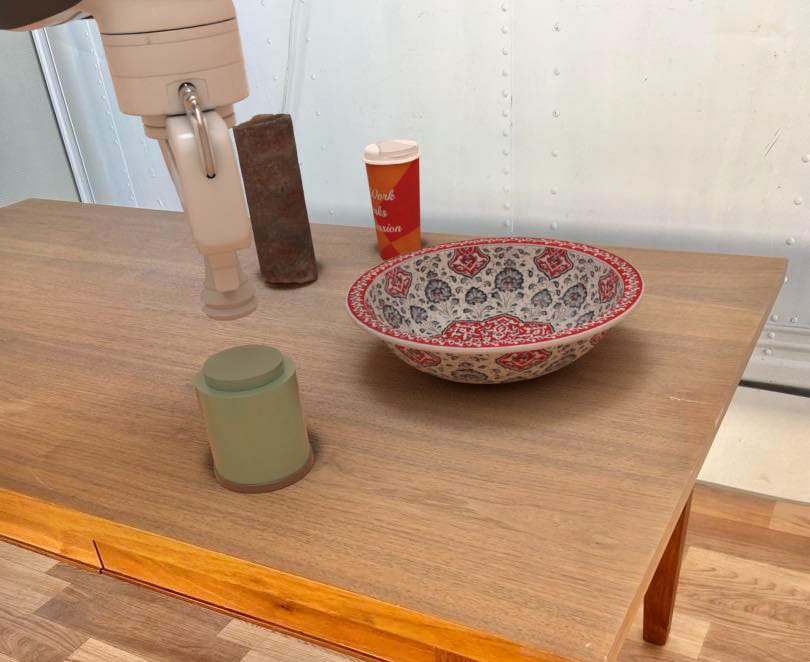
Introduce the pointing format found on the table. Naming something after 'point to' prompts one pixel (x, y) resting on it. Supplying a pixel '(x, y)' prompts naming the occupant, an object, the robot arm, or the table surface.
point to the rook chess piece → (228, 297)
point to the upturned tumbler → (254, 418)
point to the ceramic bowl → (495, 306)
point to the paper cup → (395, 195)
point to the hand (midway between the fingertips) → (223, 277)
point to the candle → (276, 198)
